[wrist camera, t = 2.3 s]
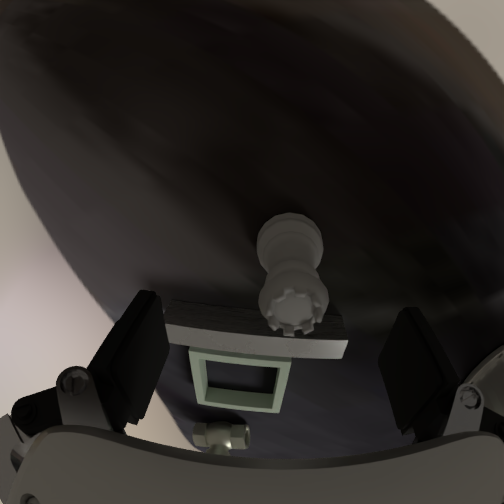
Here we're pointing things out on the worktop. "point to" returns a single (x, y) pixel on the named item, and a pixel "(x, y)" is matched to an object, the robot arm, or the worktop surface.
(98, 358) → the robot arm
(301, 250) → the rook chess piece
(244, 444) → the valve
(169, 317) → the door edge rail
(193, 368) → the socket
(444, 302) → the worktop surface
